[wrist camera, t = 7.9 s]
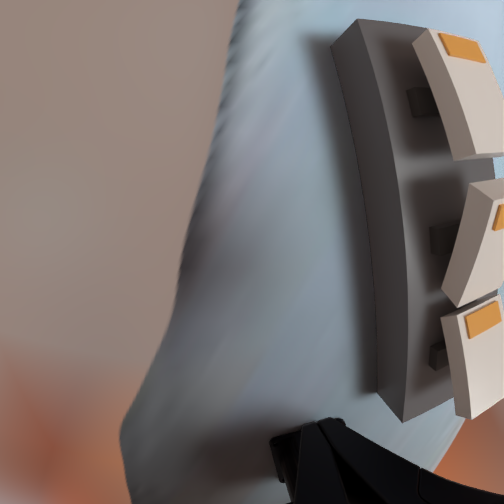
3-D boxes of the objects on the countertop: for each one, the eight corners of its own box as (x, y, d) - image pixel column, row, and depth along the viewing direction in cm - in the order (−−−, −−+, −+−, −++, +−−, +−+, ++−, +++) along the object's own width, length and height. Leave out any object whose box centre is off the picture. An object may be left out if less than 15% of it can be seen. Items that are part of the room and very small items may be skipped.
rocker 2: (484, 270, 17) (502, 289, 16) (440, 288, 17) (458, 310, 15) (513, 176, 13) (537, 192, 11) (469, 183, 13) (496, 202, 11)
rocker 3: (497, 388, 16) (515, 390, 14) (455, 414, 16) (473, 420, 14) (483, 297, 18) (501, 293, 16) (440, 317, 17) (458, 314, 15)
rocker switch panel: (452, 381, 25) (484, 407, 20) (376, 417, 24) (404, 453, 19) (427, 53, 19) (468, 32, 14) (330, 46, 18) (363, 12, 13)
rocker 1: (499, 157, 14) (522, 150, 12) (453, 160, 13) (478, 152, 11) (462, 52, 13) (480, 39, 11) (411, 43, 13) (429, 26, 11)
